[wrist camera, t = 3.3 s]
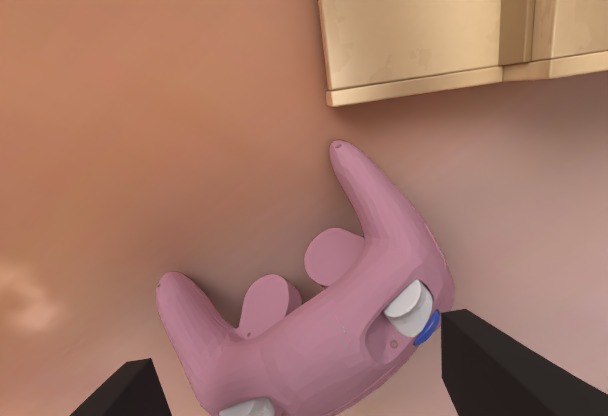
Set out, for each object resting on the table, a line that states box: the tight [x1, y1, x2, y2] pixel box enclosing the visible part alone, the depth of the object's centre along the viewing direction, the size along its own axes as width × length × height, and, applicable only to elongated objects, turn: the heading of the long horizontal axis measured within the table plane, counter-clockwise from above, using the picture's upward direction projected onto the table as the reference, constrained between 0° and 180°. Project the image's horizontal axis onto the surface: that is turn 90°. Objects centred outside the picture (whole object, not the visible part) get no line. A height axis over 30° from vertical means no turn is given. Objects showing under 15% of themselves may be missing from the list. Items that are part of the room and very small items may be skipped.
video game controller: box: [156, 140, 455, 416], centre depth 12 cm, size 10×5×7 cm, turn 128°
